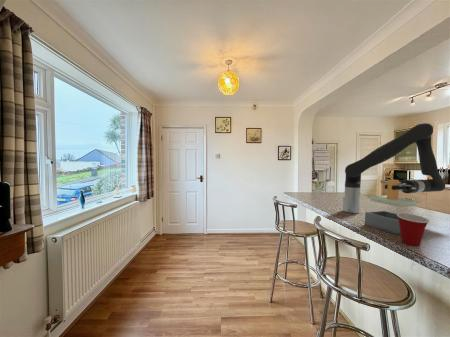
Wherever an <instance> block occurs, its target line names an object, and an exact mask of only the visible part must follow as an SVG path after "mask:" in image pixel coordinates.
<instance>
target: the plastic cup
mask: <svg viewBox="0 0 450 337" xmlns="http://www.w3.org/2000/svg"><path fill="white" fill-rule="evenodd" d="M397 216H398V220H399V225H400V233H401V235H400V237H401V238H400V239H401V242H402V243H403V244H404V245H407V246H411V247H419V246H420V245H421V243H422V239H423V236H424V234H425V229H426V228H427V225H428V223H430V219H428V218H427V217H423V216H421V215H418V214H417V215H416V214H413V213H412V214H411V213H397Z"/></svg>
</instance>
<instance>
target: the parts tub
mask: <svg viewBox="0 0 450 337" xmlns="http://www.w3.org/2000/svg"><path fill="white" fill-rule="evenodd" d="M397 214H398V213H396V212H391V211H388V210H375V211H365V213H364V225H365V226H369V227H370V228H374V229H377V230H380V231H384V232H387V233H391V234H394V235H396V234H397V235H396V236H401V233H400V225H399V220H398V216H397Z"/></svg>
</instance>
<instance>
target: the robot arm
mask: <svg viewBox="0 0 450 337" xmlns="http://www.w3.org/2000/svg"><path fill="white" fill-rule="evenodd" d="M433 133H434V126H433V125H432V124H430V123H427V122H422V123H421V122H420V123H417V124H416V125H415V126H413V127H411V128H410V129H409V130H407V131H406V132H405V133H403V134H401V135H400V136H398V137H395V138H394V139H392V140H390V141H387V142H386V143H384V144H382V145H380V146H378V148H376V149H374V150H372V151H371V152H370V153H368V154H367V155H366V156H364V157H363V158H360V159H359V160H357V161H355V162H352V163H350V164H347V165H346V167H345V168H344V169H345V170H344V173H345V181H344V195H343V197H342V198H343V199H342V211H343V212H345V213H350V214H360V203H361V202H360V201H361V200H360V199H361V182H362V173H364V172H365V171H367V170H369V169H370V168H372V167H374V166H375V167H376V166H378V165H380V164H382V163H384V162H387V161H388V160H389V159H392V158H393V157H395V156H398V154H400V153H401V152H402V151H404V150H405V149H406V148H408V147H409V146H410V145H411V146H412V145H413V144H415V145H416V147H417V152H418V158H419V159H418V160H419V166H420V172H421V175H423V176H430V177H431V178H430V179H417V178H416V179H411V178H410V179H403V180H401V181H399V185H394V186H392V190H399V191H400V192H402V193H403V194H418V193H430V192H431V193H432V192H442V191H444V190H445V188H446V183H445V181H444V179H443V177H442V175H441V173H440V171H439V169H438V165H437V160H436V157H435V154H434V151H433V147H432V135H433ZM384 189H385V190H387V184H384Z"/></svg>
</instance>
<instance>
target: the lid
mask: <svg viewBox="0 0 450 337" xmlns="http://www.w3.org/2000/svg"><path fill="white" fill-rule="evenodd" d="M399 183H400V180H399V179H387V183H386V185H387V189H386V194H385V195H373V196H372V195H371V196H366V199H370V202H374V203H380V204H383V205H387V206H393V207H399V208H402V207H416V206H417V204H421V203H422V201H421V200H414V199H409V198H403V197H399V191H400V190H392V186H394V185H399Z"/></svg>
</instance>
